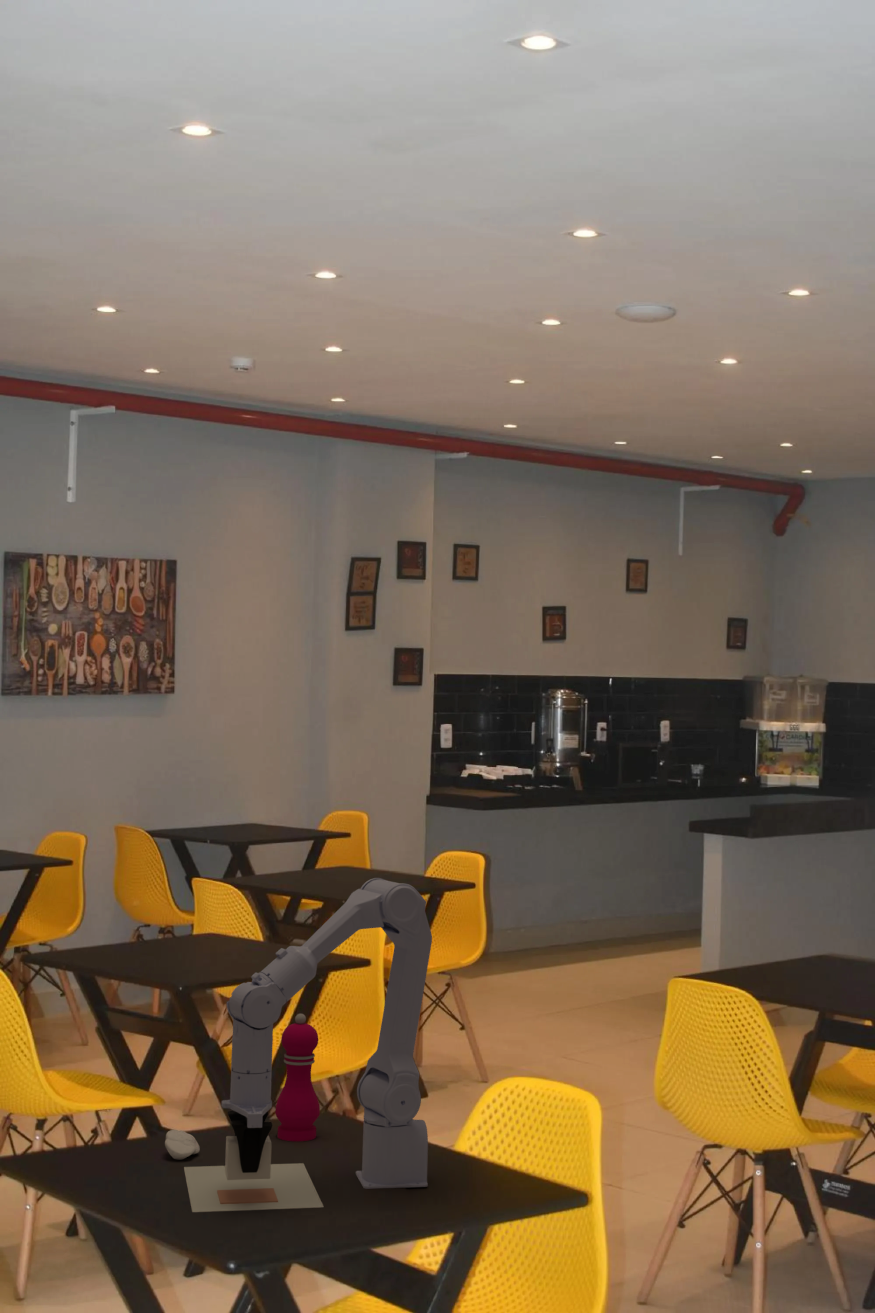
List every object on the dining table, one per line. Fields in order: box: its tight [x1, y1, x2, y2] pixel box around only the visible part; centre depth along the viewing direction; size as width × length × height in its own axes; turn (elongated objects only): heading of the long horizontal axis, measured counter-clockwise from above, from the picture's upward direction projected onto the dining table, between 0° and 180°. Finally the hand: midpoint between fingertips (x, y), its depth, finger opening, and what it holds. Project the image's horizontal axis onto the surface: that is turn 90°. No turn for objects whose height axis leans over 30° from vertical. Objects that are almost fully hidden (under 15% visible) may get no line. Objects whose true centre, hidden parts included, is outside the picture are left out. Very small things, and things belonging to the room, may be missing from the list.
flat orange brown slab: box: [217, 1188, 278, 1204], centre depth 217 cm, size 8×6×1 cm
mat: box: [183, 1162, 324, 1213], centre depth 222 cm, size 18×22×1 cm
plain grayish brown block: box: [224, 1134, 272, 1180], centre depth 217 cm, size 4×6×5 cm, turn 102°
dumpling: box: [164, 1129, 201, 1161], centre depth 237 cm, size 7×5×4 cm
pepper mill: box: [274, 1013, 321, 1142], centre depth 251 cm, size 7×7×20 cm
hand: (248, 1167), depth 217 cm, fingers closed on plain grayish brown block, 4 cm apart
